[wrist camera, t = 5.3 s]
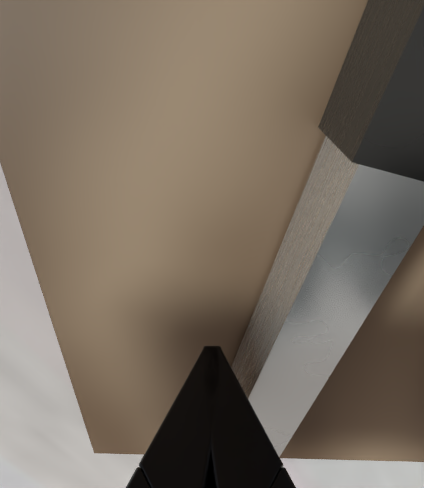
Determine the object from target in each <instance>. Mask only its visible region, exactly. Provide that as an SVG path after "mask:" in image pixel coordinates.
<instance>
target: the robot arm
mask: <svg viewBox="0 0 424 488" xmlns="http://www.w3.org/2000/svg"><path fill="white" fill-rule="evenodd" d="M126 488H296V487H295V485H294V484H293V482H292V480H291V478H290V476H289V474H288V472H287V471H286V469H285V468H284V467H283V463H282V462H281V460H280V458H279V456H278V454H277V452H276V450H275V448H274V447H273V445H272V443H271V441H270V439H269V437H268V435H267V433H266V432H265V430H264V428H263V426H262V424H261V422H260V420H259V418H258V417H257V415H256V413H255V411H254V409H253V407H252V405H251V404H250V402H249V400H248V398H247V396H246V394H245V392H244V390H243V389H242V387H241V385H240V383H239V381H238V379H237V377H236V375H235V374H234V372H233V370H232V368H231V366H230V364H229V362H228V360H227V359H226V357H225V355H224V353H223V351H222V348H221V346H204V347H203V350H202V352H201V353H200V355H199V357H198V359H197V361H196V362H195V364H194V366H193V368H192V370H191V371H190V373H189V375H188V377H187V379H186V380H185V382H184V384H183V386H182V388H181V389H180V391H179V393H178V395H177V397H176V398H175V400H174V402H173V404H172V406H171V407H170V409H169V411H168V413H167V415H166V416H165V418H164V420H163V422H162V424H161V425H160V427H159V429H158V431H157V433H156V434H155V436H154V438H153V440H152V442H151V444H150V445H149V447H148V449H147V451H146V453H145V454H144V456H143V458H142V460H141V462H140V463H139V467H138V468H136V470H135V472H134V474H133V476H132V477H131V479H130V481H129V483H128V485H127V486H126Z"/></svg>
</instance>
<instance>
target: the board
mask: <svg viewBox="0 0 424 488" xmlns="http://www.w3.org/2000/svg"><path fill="white" fill-rule="evenodd" d="M367 2H368V0H0V163H1V166H2V169H3V172H4V175H5V178H6V181H7V185H8V188H9V191H10V194H11V197H12V200H13V203H14V206H15V209H16V212H17V215H18V219H19V222H20V225H21V228H22V231H23V234H24V237H25V240H26V243H27V246H28V249H29V253H30V256H31V259H32V262H33V265H34V268H35V271H36V274H37V277H38V280H39V284H40V287H41V290H42V293H43V296H44V299H45V302H46V305H47V308H48V311H49V314H50V318H51V321H52V324H53V327H54V330H55V333H56V336H57V339H58V342H59V345H60V348H61V352H62V355H63V358H64V361H65V364H66V367H67V370H68V373H69V376H70V379H71V382H72V386H73V389H74V392H75V395H76V398H77V401H78V404H79V407H80V410H81V413H82V416H83V420H84V423H85V426H86V429H87V432H88V435H89V438H90V441H91V444H92V447H93V450H94V453H111V454H145V453H146V451H147V449H148V447H149V445H150V444H151V442H152V440H153V438H154V436H155V434H156V433H157V431H158V429H159V427H160V425H161V424H162V422H163V420H164V418H165V416H166V415H167V413H168V411H169V409H170V407H171V406H172V404H173V402H174V400H175V398H176V397H177V395H178V393H179V391H180V389H181V388H182V386H183V384H184V382H185V380H186V379H187V377H188V375H189V373H190V371H191V370H192V368H193V366H194V364H195V362H196V361H197V359H198V357H199V355H200V353H201V352H202V350H203V347H204V346H221V348H222V351H223V353H224V355H225V357H226V359H227V360H228V362H229V364H230V366H232V364H233V361H234V359H235V356H236V354H237V351H238V349H239V347H240V344H241V342H242V339H243V337H244V334H245V332H246V329H247V327H248V325H249V322H250V320H251V317H252V315H253V312H254V310H255V307H256V305H257V302H258V300H259V298H260V295H261V293H262V290H263V288H264V285H265V283H266V280H267V278H268V275H269V273H270V271H271V268H272V266H273V263H274V261H275V258H276V256H277V253H278V251H279V249H280V246H281V244H282V241H283V239H284V236H285V234H286V231H287V229H288V226H289V224H290V222H291V219H292V217H293V214H294V212H295V209H296V207H297V204H298V202H299V200H300V197H301V195H302V192H303V190H304V187H305V185H306V182H307V180H308V177H309V175H310V173H311V170H312V168H313V165H314V163H315V160H316V158H317V155H318V153H319V150H320V148H321V146H322V143H323V141H324V138H325V136H326V135H325V134H324V133H323V132H322V131H321V130H320V129H319V128H318V126H319V124H320V121H321V119H322V116H323V114H324V111H325V108H326V106H327V103H328V101H329V98H330V96H331V93H332V91H333V88H334V86H335V83H336V80H337V78H338V75H339V73H340V70H341V68H342V65H343V63H344V60H345V58H346V55H347V52H348V50H349V47H350V45H351V42H352V40H353V37H354V35H355V32H356V30H357V27H358V24H359V22H360V19H361V17H362V14H363V12H364V9H365V7H366V4H367ZM279 458H299V459H336V460H374V461H412V462H424V226H423V227H422V229H421V231H420V232H419V234H418V235H417V237H416V239H415V240H414V242H413V243H412V245H411V247H410V248H409V250H408V251H407V253H406V255H405V256H404V258H403V259H402V261H401V263H400V264H399V266H398V267H397V269H396V271H395V272H394V274H393V275H392V277H391V279H390V280H389V282H388V284H387V285H386V287H385V288H384V290H383V292H382V293H381V295H380V296H379V298H378V300H377V301H376V303H375V304H374V306H373V308H372V309H371V311H370V312H369V314H368V316H367V317H366V319H365V320H364V322H363V324H362V325H361V327H360V328H359V330H358V332H357V333H356V335H355V336H354V338H353V340H352V341H351V343H350V345H349V346H348V348H347V349H346V351H345V353H344V354H343V356H342V357H341V359H340V361H339V362H338V364H337V365H336V367H335V369H334V370H333V372H332V373H331V375H330V377H329V378H328V380H327V381H326V383H325V385H324V386H323V388H322V389H321V391H320V393H319V394H318V396H317V398H316V399H315V401H314V402H313V404H312V406H311V407H310V409H309V410H308V412H307V414H306V415H305V417H304V418H303V420H302V422H301V423H300V425H299V426H298V428H297V430H296V431H295V433H294V434H293V436H292V438H291V439H290V441H289V442H288V444H287V446H286V447H285V449H284V450H283V452H282V454H281V455H280V457H279Z"/></svg>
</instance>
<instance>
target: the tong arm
mask: <svg viewBox="0 0 424 488" xmlns="http://www.w3.org/2000/svg"><path fill="white" fill-rule="evenodd" d="M318 128H319V129H320V130H321V131H322V132H323V133H324V134H325V135H326V136H325V138H324V141H323V143H322V146H321V148H320V150H319V153H318V155H317V158H316V160H315V163H314V165H313V168H312V170H311V173H310V175H309V177H308V180H307V182H306V185H305V187H304V190H303V192H302V195H301V197H300V200H299V202H298V204H297V207H296V209H295V212H294V214H293V217H292V219H291V222H290V224H289V226H288V229H287V231H286V234H285V236H284V239H283V241H282V244H281V246H280V249H279V251H278V253H277V256H276V258H275V261H274V263H273V266H272V268H271V271H270V273H269V275H268V278H267V280H266V283H265V285H264V288H263V290H262V293H261V295H260V298H259V300H258V302H257V305H256V307H255V310H254V312H253V315H252V317H251V320H250V322H249V325H248V327H247V329H246V332H245V334H244V337H243V339H242V342H241V344H240V347H239V349H238V351H237V354H236V356H235V359H234V361H233V364H232V366H231V368H232V370H233V372H234V374H235V375H236V377H237V379H238V381H239V383H240V385H241V387H242V389H243V390H244V392H245V394H246V396H247V398H248V400H249V402H250V404H251V405H252V407H253V409H254V411H255V413H256V415H257V417H258V418H259V420H260V422H261V424H262V426H263V428H264V430H265V432H266V433H267V435H268V437H269V439H270V441H271V443H272V445H273V447H274V448H275V450H276V452H277V454H278V456H279V457H280V455H281V454H282V452H283V450H284V449H285V447H286V446H287V444H288V442H289V441H290V439H291V438H292V436H293V434H294V433H295V431H296V430H297V428H298V426H299V425H300V423H301V422H302V420H303V418H304V417H305V415H306V414H307V412H308V410H309V409H310V407H311V406H312V404H313V402H314V401H315V399H316V398H317V396H318V394H319V393H320V391H321V389H322V388H323V386H324V385H325V383H326V381H327V380H328V378H329V377H330V375H331V373H332V372H333V370H334V369H335V367H336V365H337V364H338V362H339V361H340V359H341V357H342V356H343V354H344V353H345V351H346V349H347V348H348V346H349V345H350V343H351V341H352V340H353V338H354V336H355V335H356V333H357V332H358V330H359V328H360V327H361V325H362V324H363V322H364V320H365V319H366V317H367V316H368V314H369V312H370V311H371V309H372V308H373V306H374V304H375V303H376V301H377V300H378V298H379V296H380V295H381V293H382V292H383V290H384V288H385V287H386V285H387V284H388V282H389V280H390V279H391V277H392V275H393V274H394V272H395V271H396V269H397V267H398V266H399V264H400V263H401V261H402V259H403V258H404V256H405V255H406V253H407V251H408V250H409V248H410V247H411V245H412V243H413V242H414V240H415V239H416V237H417V235H418V234H419V232H420V231H421V229H422V227H423V226H424V0H368V2H367V4H366V7H365V9H364V12H363V14H362V17H361V19H360V22H359V24H358V27H357V30H356V32H355V35H354V37H353V40H352V42H351V45H350V47H349V50H348V52H347V55H346V58H345V60H344V63H343V65H342V68H341V70H340V73H339V75H338V78H337V80H336V83H335V86H334V88H333V91H332V93H331V96H330V98H329V101H328V103H327V106H326V108H325V111H324V114H323V116H322V119H321V121H320V124H319V126H318Z"/></svg>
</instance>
